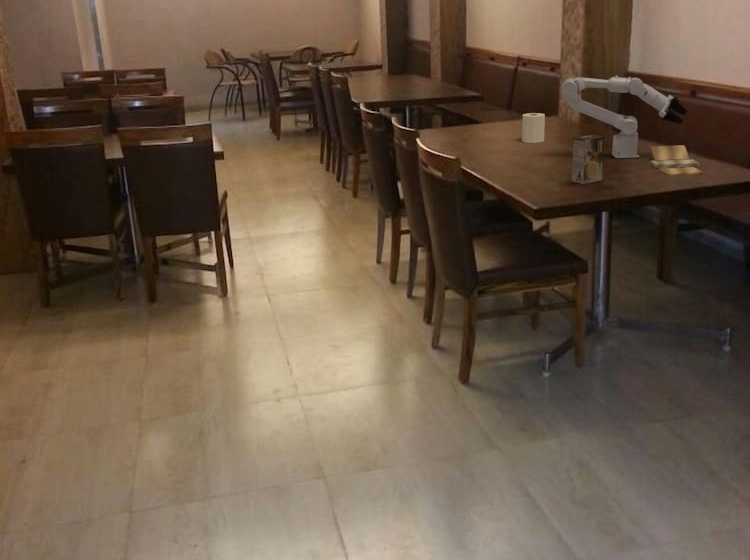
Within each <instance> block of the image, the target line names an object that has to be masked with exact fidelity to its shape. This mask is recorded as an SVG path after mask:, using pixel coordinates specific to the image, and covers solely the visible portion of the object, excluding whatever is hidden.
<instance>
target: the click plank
mask: <svg viewBox="0 0 750 560" xmlns="http://www.w3.org/2000/svg"><path fill="white" fill-rule="evenodd" d="M650 153H651V155H652V158H653V159H652V160H666V159H690V157H689V153H688V150H687V148H686V145H685V144H684V145H683V144H682V145H680V144H679V145H652V146H650Z"/></svg>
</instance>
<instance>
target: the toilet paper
mask: <svg viewBox="0 0 750 560" xmlns="http://www.w3.org/2000/svg"><path fill="white" fill-rule="evenodd" d="M545 121H546V115H545V113H539V112H537V113H536V112H529V113H528V112H527V113H524V114H522V127H521V132H522V134H521V142H523V143H527V144H537V143H540V144H541V143H543V142H545V129H546V128H545V124H546V122H545Z"/></svg>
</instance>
